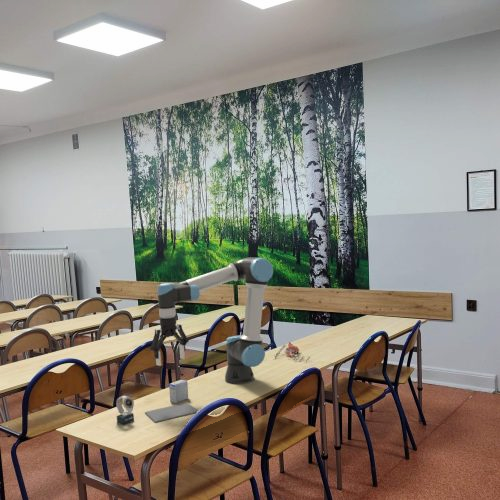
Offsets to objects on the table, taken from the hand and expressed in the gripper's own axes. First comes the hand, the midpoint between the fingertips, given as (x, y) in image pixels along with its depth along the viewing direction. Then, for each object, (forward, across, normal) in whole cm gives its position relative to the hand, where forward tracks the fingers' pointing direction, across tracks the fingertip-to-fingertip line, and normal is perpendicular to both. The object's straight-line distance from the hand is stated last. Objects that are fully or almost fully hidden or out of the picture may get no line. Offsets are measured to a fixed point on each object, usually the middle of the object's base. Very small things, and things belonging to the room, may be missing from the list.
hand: (170, 361), depth 246 cm
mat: (+19, +9, +11) cm, 24 cm away
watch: (+19, +28, +4) cm, 34 cm away
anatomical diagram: (+20, -92, -5) cm, 95 cm away
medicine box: (+19, -3, 0) cm, 20 cm away
